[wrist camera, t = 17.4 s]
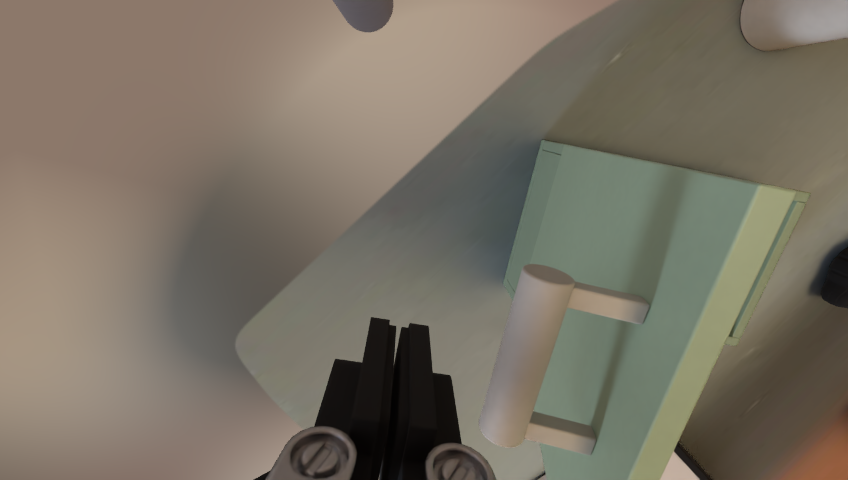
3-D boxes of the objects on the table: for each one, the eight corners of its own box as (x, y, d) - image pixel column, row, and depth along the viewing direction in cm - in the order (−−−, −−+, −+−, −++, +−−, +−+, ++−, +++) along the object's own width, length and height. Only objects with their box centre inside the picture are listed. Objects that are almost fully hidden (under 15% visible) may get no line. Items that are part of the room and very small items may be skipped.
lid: (800, 190, 8) (579, 147, 9) (595, 617, 12) (450, 575, 13) (575, 146, 28) (510, 133, 28) (524, 316, 32) (469, 302, 32)
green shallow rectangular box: (749, 180, 36) (811, 193, 30) (691, 314, 40) (737, 346, 34) (541, 139, 34) (567, 144, 28) (502, 283, 38) (518, 312, 32)
